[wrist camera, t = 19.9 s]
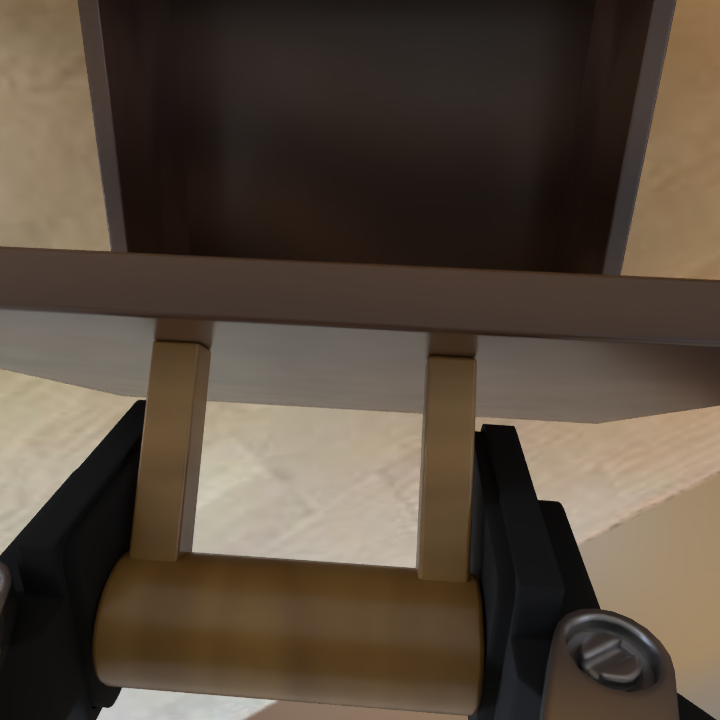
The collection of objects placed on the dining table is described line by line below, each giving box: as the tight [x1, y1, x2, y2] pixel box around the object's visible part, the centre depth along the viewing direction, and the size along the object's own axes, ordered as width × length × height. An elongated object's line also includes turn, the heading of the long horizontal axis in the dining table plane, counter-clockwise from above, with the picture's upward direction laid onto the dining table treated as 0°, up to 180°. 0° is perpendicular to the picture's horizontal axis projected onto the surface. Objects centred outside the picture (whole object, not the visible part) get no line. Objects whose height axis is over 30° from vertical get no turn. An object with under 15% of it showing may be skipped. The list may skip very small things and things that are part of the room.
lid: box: [0, 246, 720, 716], centre depth 14 cm, size 14×16×6 cm
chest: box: [78, 0, 676, 275], centre depth 22 cm, size 13×16×7 cm
